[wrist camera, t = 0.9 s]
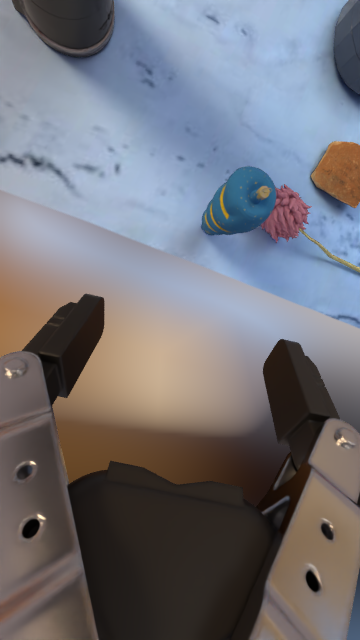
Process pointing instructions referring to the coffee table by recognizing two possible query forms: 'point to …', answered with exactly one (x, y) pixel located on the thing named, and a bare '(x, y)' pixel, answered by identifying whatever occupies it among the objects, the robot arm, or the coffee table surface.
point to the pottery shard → (340, 172)
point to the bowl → (348, 45)
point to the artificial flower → (292, 220)
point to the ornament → (240, 203)
